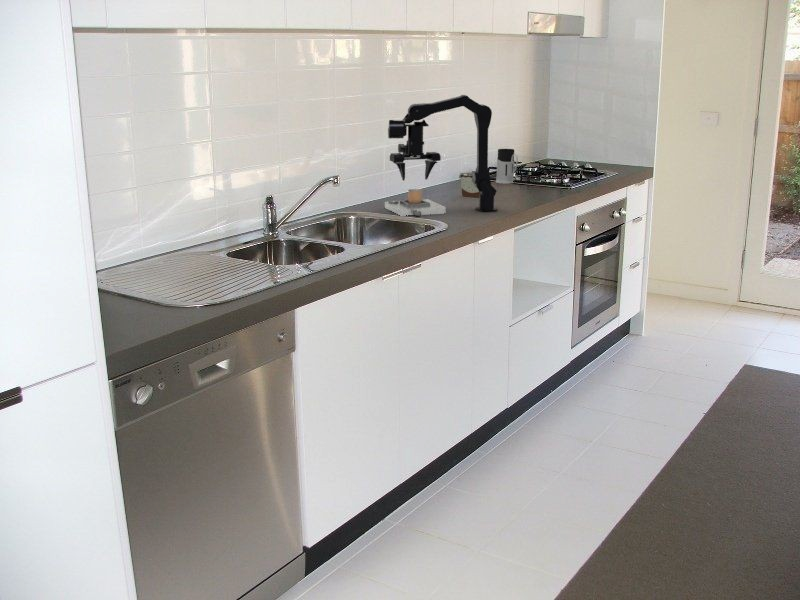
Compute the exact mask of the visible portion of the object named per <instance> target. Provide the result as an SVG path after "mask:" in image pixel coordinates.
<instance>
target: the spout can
mask: <svg viewBox="0 0 800 600" xmlns="http://www.w3.org/2000/svg"><path fill="white" fill-rule="evenodd" d="M407 193H408V196H407V198H408V199H407V200H408V203H409V204H414V203H421V199H422V189H419V188H411V189H410V188H409V189H408V192H407Z"/></svg>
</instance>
